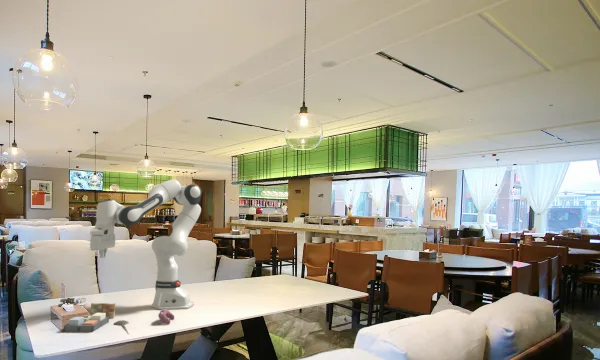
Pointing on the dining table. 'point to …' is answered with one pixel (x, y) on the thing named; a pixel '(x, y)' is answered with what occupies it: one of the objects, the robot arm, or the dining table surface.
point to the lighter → (67, 301)
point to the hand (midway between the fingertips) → (102, 257)
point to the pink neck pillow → (165, 316)
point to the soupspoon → (121, 322)
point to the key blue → (76, 321)
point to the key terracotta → (90, 322)
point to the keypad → (85, 326)
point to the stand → (103, 309)
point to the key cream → (98, 316)
